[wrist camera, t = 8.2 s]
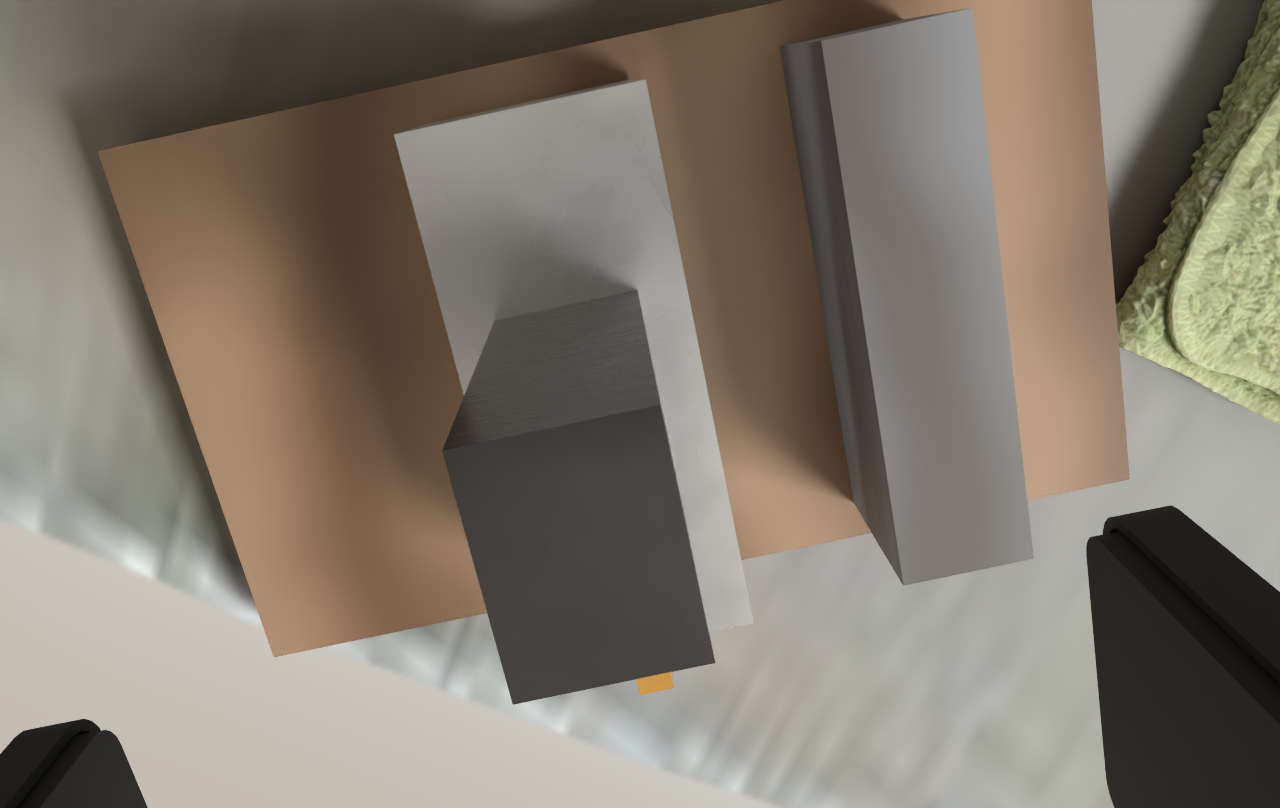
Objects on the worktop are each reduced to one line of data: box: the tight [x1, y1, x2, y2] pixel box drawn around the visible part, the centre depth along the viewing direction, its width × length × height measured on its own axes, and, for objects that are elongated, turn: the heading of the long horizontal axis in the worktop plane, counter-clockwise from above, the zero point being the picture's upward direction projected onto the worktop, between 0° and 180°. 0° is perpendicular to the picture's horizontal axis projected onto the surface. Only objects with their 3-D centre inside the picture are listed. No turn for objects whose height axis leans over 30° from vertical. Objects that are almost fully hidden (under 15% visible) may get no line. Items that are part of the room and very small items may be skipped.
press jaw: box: [394, 78, 754, 704], centre depth 22 cm, size 5×13×13 cm, turn 12°
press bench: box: [97, 0, 1130, 657], centre depth 26 cm, size 24×14×7 cm, turn 102°
